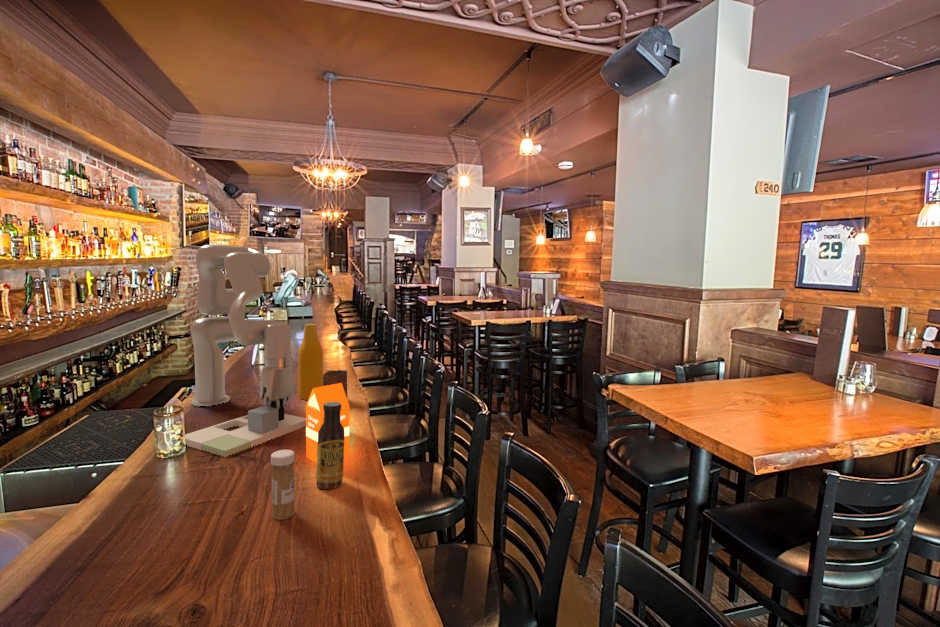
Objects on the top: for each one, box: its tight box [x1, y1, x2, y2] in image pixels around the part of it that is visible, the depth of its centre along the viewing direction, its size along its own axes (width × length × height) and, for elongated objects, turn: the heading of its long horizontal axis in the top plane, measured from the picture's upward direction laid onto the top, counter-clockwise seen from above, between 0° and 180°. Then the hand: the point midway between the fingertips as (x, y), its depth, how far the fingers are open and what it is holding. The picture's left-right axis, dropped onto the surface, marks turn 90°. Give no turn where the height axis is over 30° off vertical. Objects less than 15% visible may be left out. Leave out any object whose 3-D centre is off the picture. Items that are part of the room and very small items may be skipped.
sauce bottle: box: [315, 402, 345, 490], centre depth 110 cm, size 6×6×20 cm
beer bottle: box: [297, 323, 324, 401], centre depth 181 cm, size 9×9×29 cm
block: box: [247, 405, 279, 434], centre depth 140 cm, size 6×6×6 cm
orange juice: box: [305, 383, 351, 464], centre depth 126 cm, size 8×9×20 cm
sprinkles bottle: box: [270, 449, 296, 521], centre depth 96 cm, size 5×5×13 cm
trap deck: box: [184, 413, 306, 458], centre depth 142 cm, size 20×30×2 cm, turn 154°
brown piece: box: [323, 369, 348, 399], centre depth 143 cm, size 8×7×20 cm
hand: (278, 419), depth 146 cm, fingers closed
